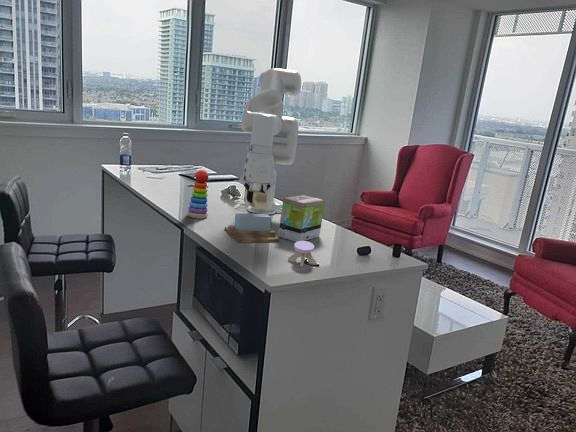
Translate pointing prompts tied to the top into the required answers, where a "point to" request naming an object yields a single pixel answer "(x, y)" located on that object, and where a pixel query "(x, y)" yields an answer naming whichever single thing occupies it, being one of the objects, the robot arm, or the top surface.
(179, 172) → the top surface
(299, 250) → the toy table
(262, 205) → the beige rectangular block
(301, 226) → the tea box
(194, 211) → the stacking toy
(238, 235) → the cradle jig
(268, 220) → the light blue rectangular block
